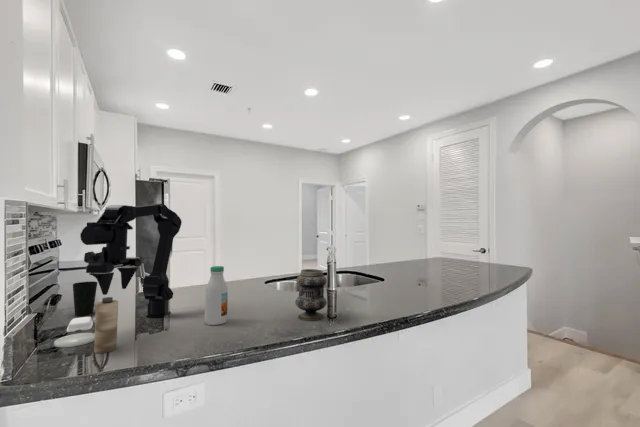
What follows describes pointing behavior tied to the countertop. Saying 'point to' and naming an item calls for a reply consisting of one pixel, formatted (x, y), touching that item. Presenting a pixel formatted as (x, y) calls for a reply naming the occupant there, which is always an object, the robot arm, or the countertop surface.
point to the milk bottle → (216, 297)
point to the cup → (84, 297)
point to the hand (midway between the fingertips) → (114, 291)
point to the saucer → (74, 340)
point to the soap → (80, 324)
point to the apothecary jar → (311, 294)
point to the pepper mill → (106, 325)
